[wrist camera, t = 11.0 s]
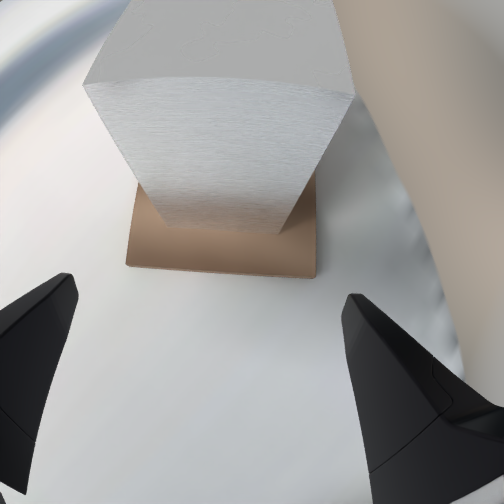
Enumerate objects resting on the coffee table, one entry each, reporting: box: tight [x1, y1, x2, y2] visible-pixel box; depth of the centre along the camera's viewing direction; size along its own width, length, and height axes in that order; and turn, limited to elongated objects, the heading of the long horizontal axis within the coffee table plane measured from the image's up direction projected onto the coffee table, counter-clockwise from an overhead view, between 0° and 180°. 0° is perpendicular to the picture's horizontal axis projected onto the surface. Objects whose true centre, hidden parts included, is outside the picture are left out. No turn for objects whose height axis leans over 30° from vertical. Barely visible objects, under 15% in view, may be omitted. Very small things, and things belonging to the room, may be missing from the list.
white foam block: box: [82, 0, 356, 234], centre depth 12 cm, size 6×6×12 cm
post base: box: [126, 170, 316, 279], centre depth 17 cm, size 11×11×4 cm
